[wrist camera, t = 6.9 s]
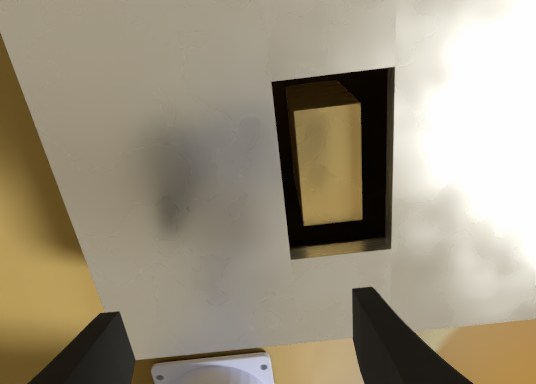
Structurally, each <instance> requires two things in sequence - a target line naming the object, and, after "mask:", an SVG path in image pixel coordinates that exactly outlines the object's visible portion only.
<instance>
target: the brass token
mask: <svg viewBox="0 0 536 384" xmlns="http://www.w3.org/2000/svg"><path fill="white" fill-rule="evenodd" d="M286 97H287V107H288V118H289V128H290V139H291V150H292V160H293V171H294V180H295V185H296V190H297V195H298V200H299V204H300V209H301V214H302V219H303V224H304V226H309V225H318V224H327V223H336V222H345V221H354V220H362V159H361V103H360V102H359V101H358V100H357V99H356V98H355V97H354V96H353V95H352V94H351V93H350V92H349V91H348V90H347V89H346V88H345V87H344V86H343V85H342V84H340V83H339V82H338V81H337V80H332V81H324V82H315V83H307V84H299V85H291V86H286Z"/></svg>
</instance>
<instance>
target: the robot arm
mask: <svg viewBox="0 0 536 384" xmlns="http://www.w3.org/2000/svg"><path fill="white" fill-rule="evenodd" d="M352 318H353V342H354V346H355V351H356V355H357V359H358V364H359V368H360V372H361V375H362V377H363V380H364V383H365V384H473V383H472V382H470V381H469V380H468V379H467V378H465V377H464V376H463V375H462V374H460V373H459V372H458V371H457V370H455V369H454V368H453V367H452V366H451V365H449V364H448V363H447V362H446V361H445V360H444V359H442V358H441V357H440V356H439V355H438V354H437V353H436V352H435V351H433V350H432V349H431V348H430V347H429V346H428V345H427V344H426V343H425V342H424V341H423V340H422V339H421V338H420V337H419V336H418V335H417V334H416V333H415V332H414V331H413V330H412V329H411V328H410V327H409V326H408V325H407V324H406V323H405V322H404V321H403V320H402V319H401V318H400V317H399V316H398V315H397V314H396V313H395V311H394V310H393V309H392V308H391V307H390V306H389V305H388V304H387V303H386V301H385V300H384V299H383V298H382V297H381V295H380V294H379V293H378V292H377V291H376V289H374V288H373V287H362V288H352ZM135 360H136V359H135V356H134V353H133V350H132V347H131V344H130V341H129V338H128V335H127V332H126V329H125V326H124V323H123V320H122V317H121V314H120V311H117V312H107V313H100V314H99V315H98V316H97V317H96V318H95V319H94V320H92V321H91V322H90V323H89V324H88V325H87V326H86V327H85V328H84V329H83V330H82V331H81V332H80V333H79V335H78V336H77V337H76V338H75V339H74V340H73V341H72V342H71V343H70V344H69V345H68V346H67V347H66V348H65V349H64V350H63V351H62V352H60V353H59V354H58V355H57V356H56V357H55V358H54V359H53V360H52V361H51V362H50V363H49V364H48V365H47V366H46V367H45V368H44V369H43V370H42V371H41V372H40V373H39V374H38V375H36V376H35V377H34V378H33V379H32V380H31V381H30V382H29V383H28V384H131V380H132V375H133V370H134V365H135ZM263 364H264V365H263ZM151 374H152V377H153V380H154V383H155V384H274V379H273V372H272V366H271V359H270V356H269V354H268V353H265V352H259V353H250V354H240V355H230V356H221V357H211V358H201V359H192V360H182V361H172V362H163V363H156V364H154V365H153V366H152V369H151ZM160 375H162V376H160Z"/></svg>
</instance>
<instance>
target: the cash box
mask: <svg viewBox="0 0 536 384" xmlns="http://www.w3.org/2000/svg"><path fill="white" fill-rule="evenodd" d="M0 33H1V36H2V38H3V41H4V44H5V46H6V49H7V52H8V54H9V57H10V60H11V62H12V65H13V68H14V70H15V73H16V76H17V78H18V81H19V84H20V86H21V89H22V92H23V94H24V97H25V100H26V102H27V105H28V108H29V110H30V113H31V116H32V118H33V121H34V124H35V126H36V129H37V132H38V134H39V137H40V140H41V142H42V145H43V148H44V151H45V153H46V156H47V159H48V161H49V164H50V167H51V169H52V172H53V175H54V177H55V180H56V183H57V185H58V188H59V191H60V193H61V196H62V199H63V201H64V204H65V207H66V209H67V212H68V215H69V217H70V220H71V223H72V225H73V228H74V231H75V233H76V236H77V239H78V241H79V244H80V247H81V249H82V252H83V255H84V257H85V260H86V263H87V265H88V268H89V271H90V273H91V276H92V279H93V281H94V284H95V287H96V289H97V292H98V295H99V297H100V300H101V303H102V305H103V308H104V311H105V313H107V312H117V311H120V314H121V317H122V320H123V323H124V326H125V329H126V332H127V335H128V338H129V341H130V344H131V347H132V350H133V353H134V356H135V359H136V360H142V359H152V358H161V357H171V356H181V355H190V354H200V353H210V352H219V351H229V350H239V349H248V348H258V347H268V346H277V345H287V344H297V343H306V342H316V341H326V340H335V339H345V338H353V318H352V288H362V287H373V288H374V289H376V291H377V292H378V293H379V294H380V295H381V297H382V298H383V299H384V300H385V301H386V303H387V304H388V305H389V306H390V307H391V308H392V309H393V310H394V311H395V313H396V314H397V315H398V316H399V317H400V318H401V319H402V320H403V321H404V322H405V323H406V324H407V325H408V326H409V327H410V328H411V329H412V330H413V331H422V330H432V329H441V328H451V327H461V326H470V325H480V324H489V323H498V322H508V321H518V320H528V319H536V0H0ZM380 68H388V81H387V159H386V236H385V237H380V238H371V239H362V240H352V241H343V242H334V243H325V244H316V245H307V246H298V247H289V240H288V231H287V221H286V212H285V203H284V194H283V185H282V176H281V167H280V157H279V148H278V139H277V130H276V121H275V112H274V103H273V93H272V84H271V82H273V81H282V80H290V79H298V78H306V77H314V76H323V75H331V74H339V73H347V72H355V71H364V70H372V69H380Z"/></svg>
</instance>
